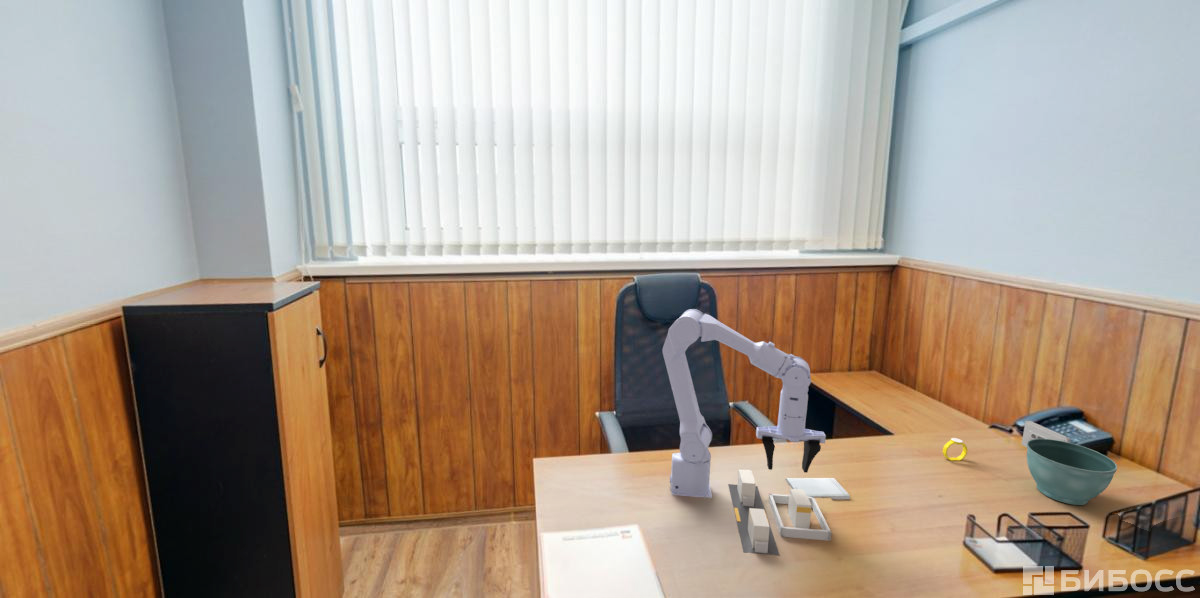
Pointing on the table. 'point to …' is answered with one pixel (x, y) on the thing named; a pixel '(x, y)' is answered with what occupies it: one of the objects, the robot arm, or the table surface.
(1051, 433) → the cassette
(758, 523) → the block
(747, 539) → the block
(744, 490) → the block
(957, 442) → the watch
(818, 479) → the hard drive
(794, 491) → the block
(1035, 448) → the teal green bowl
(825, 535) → the tray
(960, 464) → the table surface
